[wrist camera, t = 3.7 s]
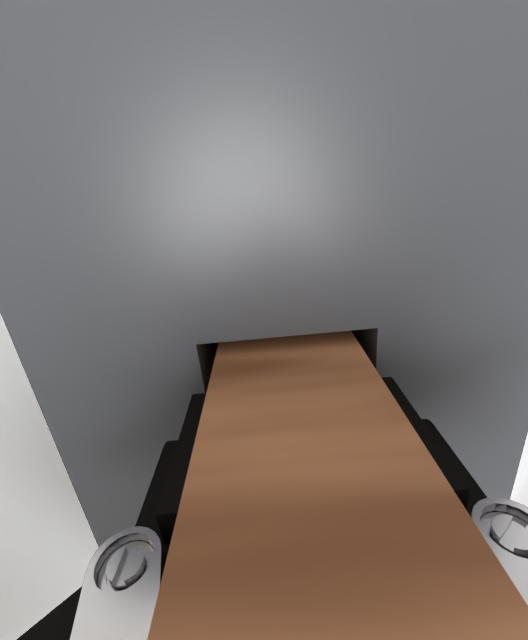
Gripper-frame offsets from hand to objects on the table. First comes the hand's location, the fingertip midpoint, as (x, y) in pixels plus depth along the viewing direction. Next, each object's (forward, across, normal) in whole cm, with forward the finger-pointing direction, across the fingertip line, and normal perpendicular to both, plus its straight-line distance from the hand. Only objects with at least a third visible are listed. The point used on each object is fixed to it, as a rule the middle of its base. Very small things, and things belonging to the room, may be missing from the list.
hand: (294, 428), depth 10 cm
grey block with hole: (+7, 0, 0) cm, 7 cm away
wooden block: (+7, 0, 0) cm, 7 cm away
